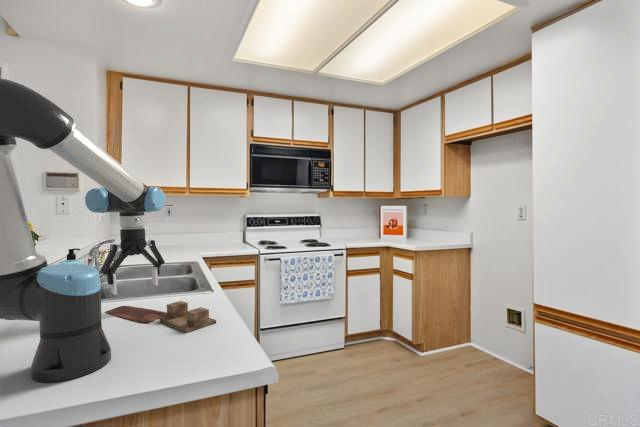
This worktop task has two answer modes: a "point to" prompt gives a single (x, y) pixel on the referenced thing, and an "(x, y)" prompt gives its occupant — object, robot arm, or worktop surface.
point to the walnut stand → (186, 317)
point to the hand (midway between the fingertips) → (135, 289)
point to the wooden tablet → (137, 314)
